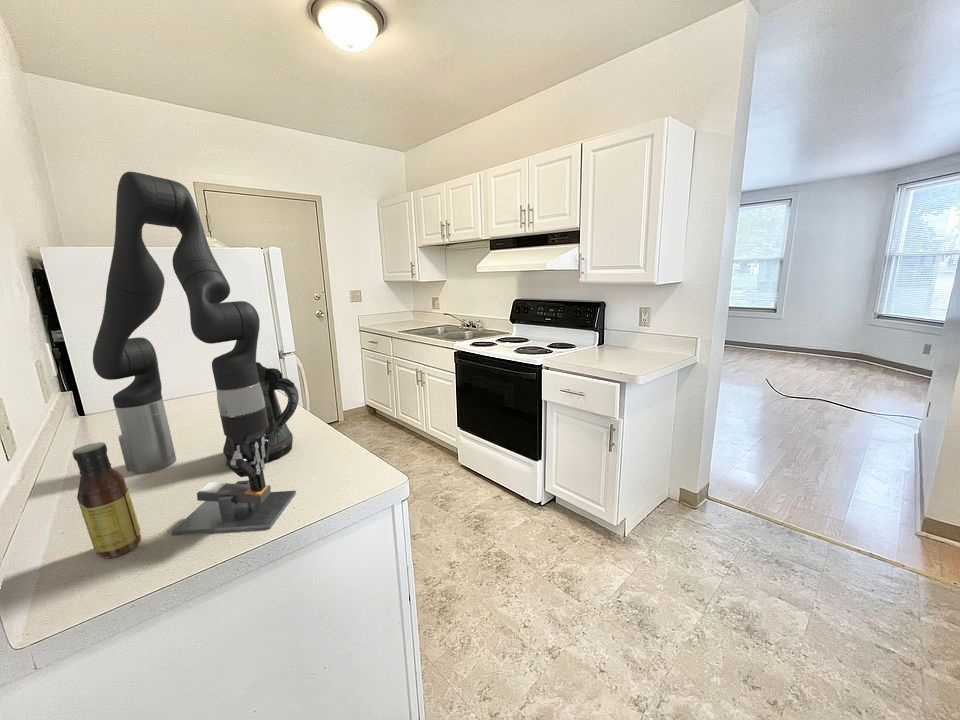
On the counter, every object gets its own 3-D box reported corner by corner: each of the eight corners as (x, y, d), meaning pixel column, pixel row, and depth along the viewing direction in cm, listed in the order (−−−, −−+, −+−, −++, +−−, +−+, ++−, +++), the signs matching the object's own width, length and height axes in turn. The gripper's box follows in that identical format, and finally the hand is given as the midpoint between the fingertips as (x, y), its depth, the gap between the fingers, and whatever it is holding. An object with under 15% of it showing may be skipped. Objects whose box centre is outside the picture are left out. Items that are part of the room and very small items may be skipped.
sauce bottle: (116, 538, 73) (88, 439, 69) (151, 535, 74) (126, 436, 69) (84, 563, 67) (52, 455, 63) (123, 560, 67) (94, 452, 63)
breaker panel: (172, 535, 73) (166, 510, 72) (211, 499, 85) (207, 477, 84) (270, 528, 74) (265, 503, 73) (296, 493, 86) (292, 472, 85)
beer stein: (228, 449, 111) (211, 362, 105) (303, 434, 119) (291, 353, 114) (222, 474, 96) (202, 375, 91) (307, 455, 105) (294, 363, 99)
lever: (197, 500, 76) (196, 491, 76) (210, 489, 80) (209, 481, 80) (261, 503, 77) (260, 494, 77) (270, 492, 81) (270, 484, 81)
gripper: (241, 398, 81) (256, 474, 85) (200, 421, 68) (219, 510, 72) (278, 395, 82) (291, 472, 85) (244, 418, 69) (261, 507, 72)
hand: (258, 489), depth 79 cm, fingers closed
